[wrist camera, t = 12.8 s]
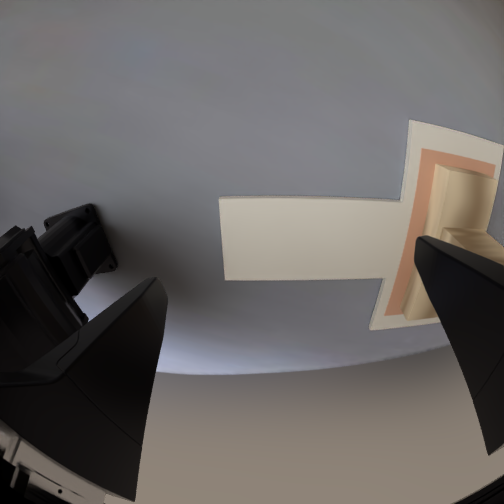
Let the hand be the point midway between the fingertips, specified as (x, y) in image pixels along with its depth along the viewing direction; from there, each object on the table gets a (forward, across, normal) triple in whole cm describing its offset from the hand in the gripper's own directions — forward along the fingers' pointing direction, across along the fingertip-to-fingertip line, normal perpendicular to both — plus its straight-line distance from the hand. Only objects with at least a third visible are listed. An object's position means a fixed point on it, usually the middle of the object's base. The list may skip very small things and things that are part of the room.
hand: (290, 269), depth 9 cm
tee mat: (+12, -8, +6) cm, 16 cm away
